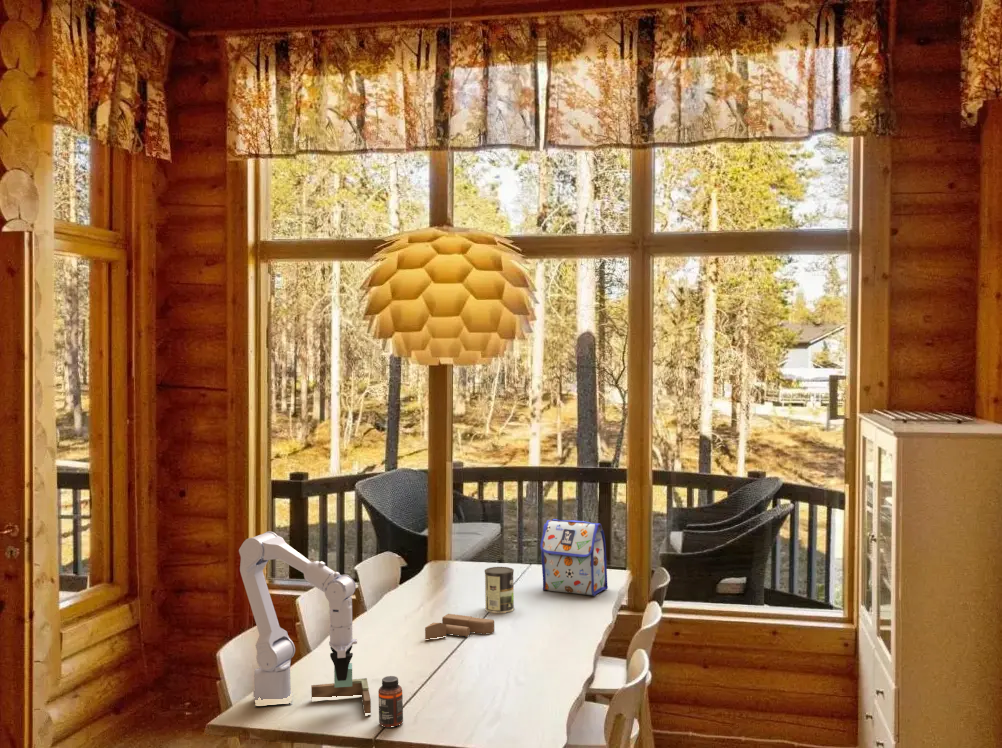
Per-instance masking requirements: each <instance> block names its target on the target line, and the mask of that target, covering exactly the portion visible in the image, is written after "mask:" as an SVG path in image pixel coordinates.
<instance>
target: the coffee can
mask: <svg viewBox="0 0 1002 748" xmlns="http://www.w3.org/2000/svg"><path fill="white" fill-rule="evenodd" d="M484 580H485V581H484V583H485V584H484V585H485V586H484V587H485V588H484V589H485V591H484V592H485V594H484V597H485V609H486V610H487V611H488V613H490V612H491V614H507V613H506V612H508V613H511V612H513V611H514V610H515V605H514V603H515V602H514V598H515V597H514V596H515V595H514V594H515V593H514V569H513V568H511V567H508V566H492V567H487V568H486V569H484ZM486 610H485V611H486ZM487 611H486V612H487Z"/></svg>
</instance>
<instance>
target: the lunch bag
mask: <svg viewBox="0 0 1002 748" xmlns="http://www.w3.org/2000/svg"><path fill="white" fill-rule="evenodd" d="M540 540H541V541H540V545H539V547H540V550H541V551H540V552H541V554H540V555H541V568H542V569H541V570H542V571H541V572H542V573H541V574H542V591H546V590H547V591H550V592H559V593H569V594H578V595H585V596H593V597H595V596H596V595H597V594H599V593H601V592H602V591H604V590H607V589H608V588H609V586H608V570H607V566H608V565H607V547H606V539H605V532H604V530H603V527H602V524H601V523H599V522H598V523H597V522H595V523H594V522H589V521H583V520H576V519H575V520H574V519H573V520H570V519H569V520H563V519H561V520H560V519H556V518H553V519H547V520H546V523H544V524H543V529H542V537H541V539H540Z"/></svg>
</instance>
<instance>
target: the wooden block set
mask: <svg viewBox="0 0 1002 748" xmlns="http://www.w3.org/2000/svg"><path fill="white" fill-rule="evenodd" d="M424 631H425V632H424V637H425V638H424V640H425V639H430V638H437V637H443V636H446V637H447V635H446V634H453V635H459V636H458V637H461V636H465V637H464V638H468V637H469V636H470V634H471V633H470V632H475V633H474V634H477V633H482V634H481V635H487V634H486V633H490V634H493V633H494V632H495V620H494V619H491V618H490V619H489V618H482V617H481V618H480V617H473V616H471V615H470V616H469V615H461V614H452V613H447V614H446V615H444V616H442V620H441V622H432V623H430V624H429V625H427V626H426V627H424ZM492 632H493V633H492ZM453 635H452V636H453ZM468 635H469V636H468ZM467 636H468V637H467Z"/></svg>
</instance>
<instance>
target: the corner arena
mask: <svg viewBox="0 0 1002 748" xmlns="http://www.w3.org/2000/svg"><path fill="white" fill-rule="evenodd" d="M310 693H311V698H312V697H332V696H336V697H337V696H353V695H362V698H361V701H362V700H363V703H362V706H363V705H364V709H363V712H364V711H365V713H371V712H372V706H371V705H372V703H371V702H372V701H371V694H370V688H369V684H368V678H367V677H365V678H355V679H353V678H352V686H351V687H337V688H334V683H333V682H332V683H322V684H313V685H311V692H310ZM371 714H372V713H371Z"/></svg>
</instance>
